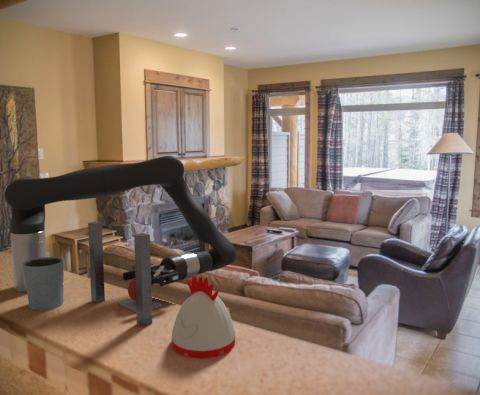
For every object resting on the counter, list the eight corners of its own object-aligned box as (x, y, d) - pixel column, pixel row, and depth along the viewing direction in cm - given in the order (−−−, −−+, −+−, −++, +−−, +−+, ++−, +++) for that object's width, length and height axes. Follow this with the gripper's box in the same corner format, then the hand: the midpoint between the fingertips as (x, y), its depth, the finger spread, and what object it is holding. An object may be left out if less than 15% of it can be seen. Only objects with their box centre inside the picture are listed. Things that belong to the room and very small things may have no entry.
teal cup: (45, 313, 113) (42, 268, 112) (16, 308, 117) (13, 264, 116) (74, 300, 123) (71, 258, 121) (46, 295, 126) (43, 254, 125)
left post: (91, 300, 122) (87, 222, 119) (100, 298, 124) (96, 221, 121) (96, 303, 121) (92, 224, 118) (104, 300, 123) (101, 222, 120)
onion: (123, 304, 118) (122, 275, 117) (137, 298, 123) (137, 270, 122) (140, 308, 116) (140, 278, 115) (154, 301, 121) (154, 273, 120)
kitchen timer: (200, 324, 107) (199, 264, 105) (247, 339, 99) (247, 274, 97) (158, 346, 96) (156, 279, 94) (207, 365, 88) (206, 292, 86)
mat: (117, 303, 120) (117, 302, 120) (139, 297, 125) (139, 295, 125) (139, 313, 113) (139, 311, 113) (161, 306, 119) (161, 304, 118)
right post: (137, 323, 108) (134, 234, 105) (145, 320, 109) (143, 233, 106) (143, 326, 106) (140, 236, 103) (152, 323, 108) (149, 234, 105)
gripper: (164, 250, 133) (116, 261, 121) (196, 259, 123) (147, 271, 111) (165, 274, 134) (117, 287, 122) (196, 285, 124) (148, 300, 112)
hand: (131, 280), depth 117 cm, fingers open, 7 cm apart
